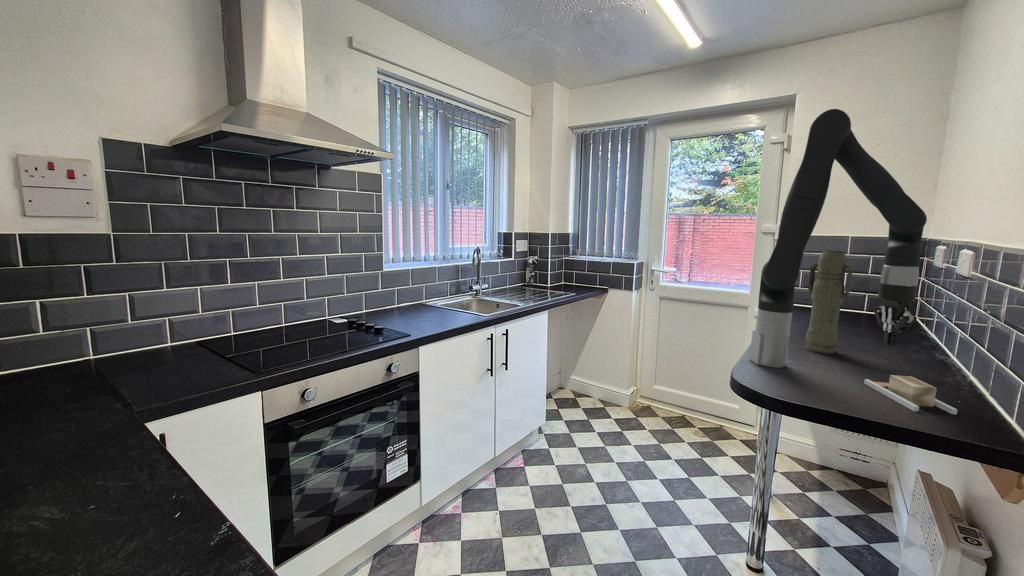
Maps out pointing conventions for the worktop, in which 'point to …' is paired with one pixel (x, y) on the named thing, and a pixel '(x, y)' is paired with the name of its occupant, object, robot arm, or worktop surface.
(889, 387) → the beech block
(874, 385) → the channel
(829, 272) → the thermos
